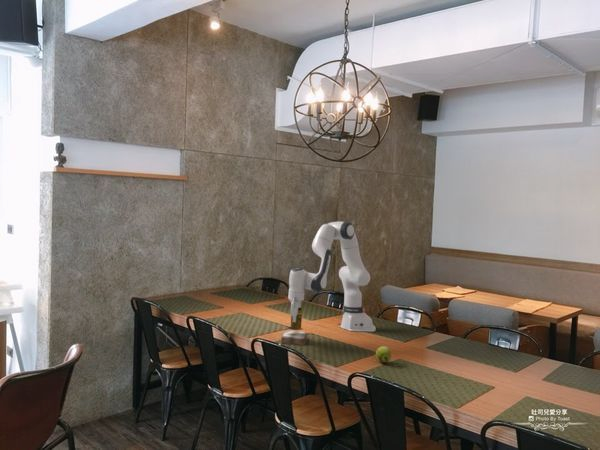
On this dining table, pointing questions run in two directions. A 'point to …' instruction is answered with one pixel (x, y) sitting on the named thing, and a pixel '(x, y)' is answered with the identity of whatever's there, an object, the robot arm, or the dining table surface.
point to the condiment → (298, 322)
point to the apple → (383, 354)
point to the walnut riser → (294, 337)
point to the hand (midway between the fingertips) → (295, 320)
